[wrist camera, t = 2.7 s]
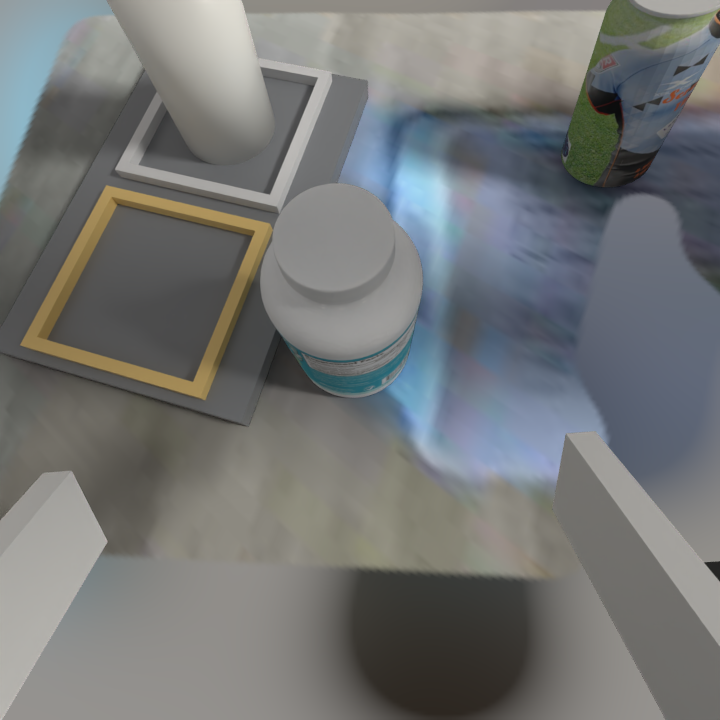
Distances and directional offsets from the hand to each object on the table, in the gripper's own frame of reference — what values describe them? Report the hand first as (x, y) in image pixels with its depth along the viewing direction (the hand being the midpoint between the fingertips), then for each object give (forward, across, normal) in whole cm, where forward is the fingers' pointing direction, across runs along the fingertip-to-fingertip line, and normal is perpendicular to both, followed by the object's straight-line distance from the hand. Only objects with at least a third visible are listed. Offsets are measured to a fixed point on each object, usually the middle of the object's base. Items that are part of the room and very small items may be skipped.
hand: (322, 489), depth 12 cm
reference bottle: (+29, -8, +10) cm, 31 cm away
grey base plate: (+25, -10, +4) cm, 28 cm away
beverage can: (+27, +19, +5) cm, 33 cm away
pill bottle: (+17, +1, -4) cm, 18 cm away
